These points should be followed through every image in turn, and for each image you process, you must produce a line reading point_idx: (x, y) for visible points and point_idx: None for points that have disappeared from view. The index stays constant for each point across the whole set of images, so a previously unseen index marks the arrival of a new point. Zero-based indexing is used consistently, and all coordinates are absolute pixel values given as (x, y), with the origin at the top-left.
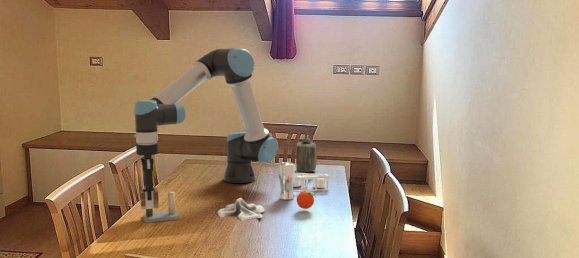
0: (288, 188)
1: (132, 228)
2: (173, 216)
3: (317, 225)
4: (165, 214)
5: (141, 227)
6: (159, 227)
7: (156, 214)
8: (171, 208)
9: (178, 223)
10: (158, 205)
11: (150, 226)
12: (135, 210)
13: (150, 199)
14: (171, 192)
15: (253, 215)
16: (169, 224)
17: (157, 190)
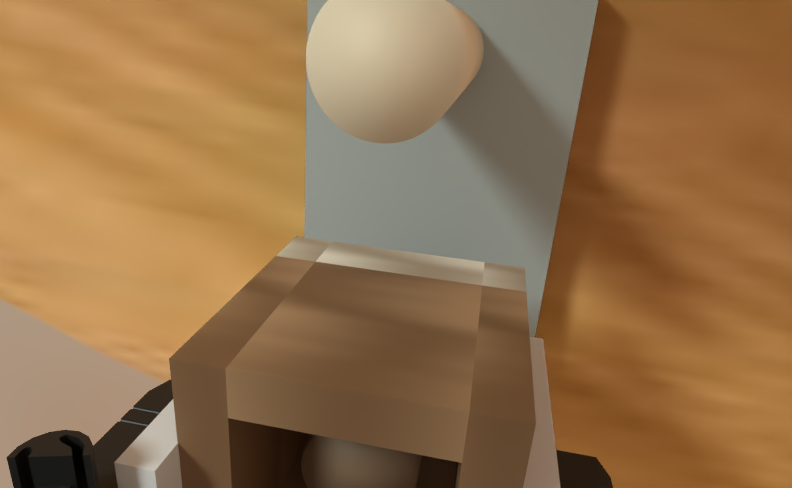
0: None
1: (645, 468)
2: (582, 55)
3: None
4: (446, 135)
5: (662, 403)
6: (777, 258)
7: (402, 228)
8: (477, 65)
9: (766, 21)
10: (525, 285)
11: (681, 329)
12: (113, 339)
13: (601, 485)
14: (375, 57)
15: None
16: (736, 136)
17: (406, 405)
